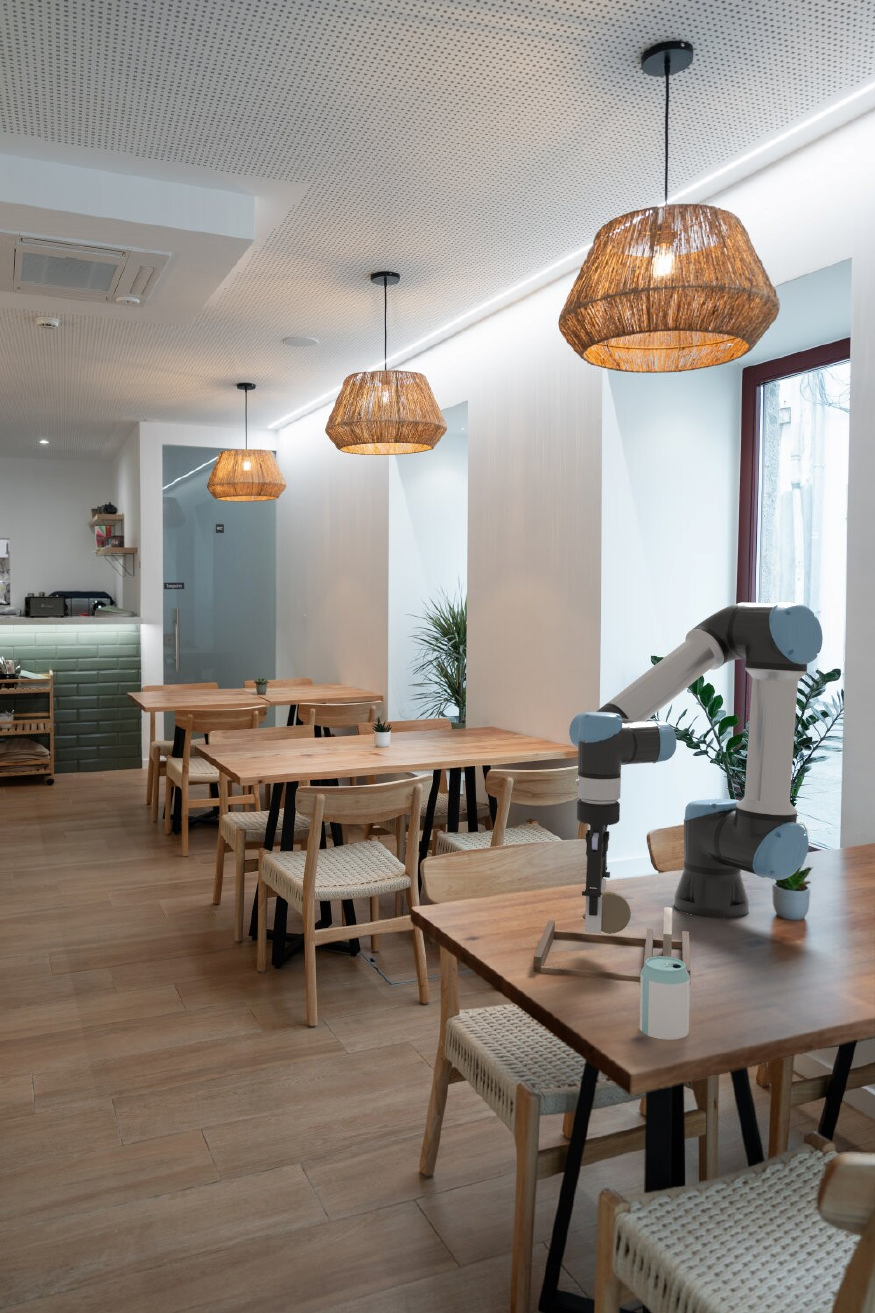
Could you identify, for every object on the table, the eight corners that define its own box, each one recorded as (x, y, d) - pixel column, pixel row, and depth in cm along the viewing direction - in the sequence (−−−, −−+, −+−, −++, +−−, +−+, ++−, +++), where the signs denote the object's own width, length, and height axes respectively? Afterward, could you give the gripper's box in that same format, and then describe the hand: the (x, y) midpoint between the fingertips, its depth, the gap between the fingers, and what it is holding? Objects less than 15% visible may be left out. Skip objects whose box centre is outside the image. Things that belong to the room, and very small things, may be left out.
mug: (624, 915, 181) (640, 880, 175) (615, 957, 174) (631, 922, 168) (585, 901, 183) (600, 866, 176) (575, 941, 175) (589, 906, 169)
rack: (688, 951, 183) (689, 905, 182) (690, 993, 163) (691, 941, 163) (548, 939, 189) (548, 894, 188) (533, 978, 170) (534, 928, 169)
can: (668, 1029, 150) (670, 951, 149) (698, 1048, 143) (700, 967, 143) (629, 1037, 147) (631, 958, 146) (658, 1057, 140) (659, 974, 140)
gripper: (583, 787, 187) (580, 902, 188) (570, 811, 165) (567, 941, 166) (623, 789, 186) (620, 905, 187) (616, 814, 163) (612, 945, 164)
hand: (595, 922), depth 176 cm, fingers closed on mug, 10 cm apart
